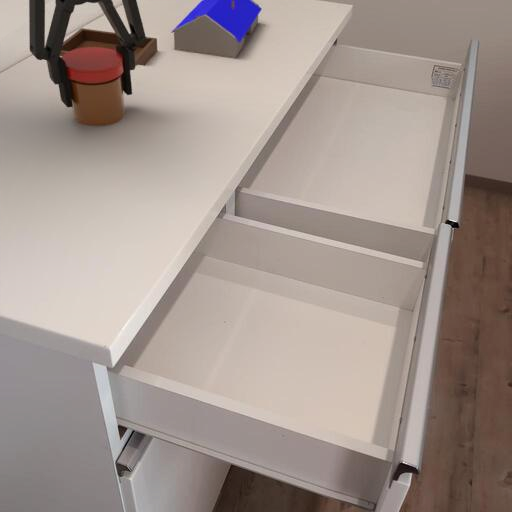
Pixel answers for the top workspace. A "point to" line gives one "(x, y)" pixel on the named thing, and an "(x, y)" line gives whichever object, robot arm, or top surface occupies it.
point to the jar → (97, 102)
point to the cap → (93, 64)
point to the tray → (108, 44)
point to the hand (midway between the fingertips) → (97, 97)
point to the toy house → (217, 27)
